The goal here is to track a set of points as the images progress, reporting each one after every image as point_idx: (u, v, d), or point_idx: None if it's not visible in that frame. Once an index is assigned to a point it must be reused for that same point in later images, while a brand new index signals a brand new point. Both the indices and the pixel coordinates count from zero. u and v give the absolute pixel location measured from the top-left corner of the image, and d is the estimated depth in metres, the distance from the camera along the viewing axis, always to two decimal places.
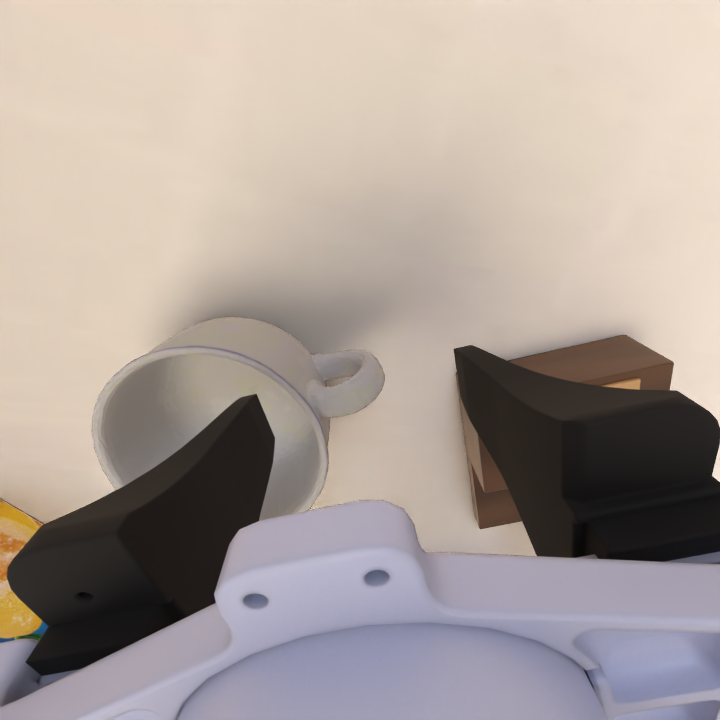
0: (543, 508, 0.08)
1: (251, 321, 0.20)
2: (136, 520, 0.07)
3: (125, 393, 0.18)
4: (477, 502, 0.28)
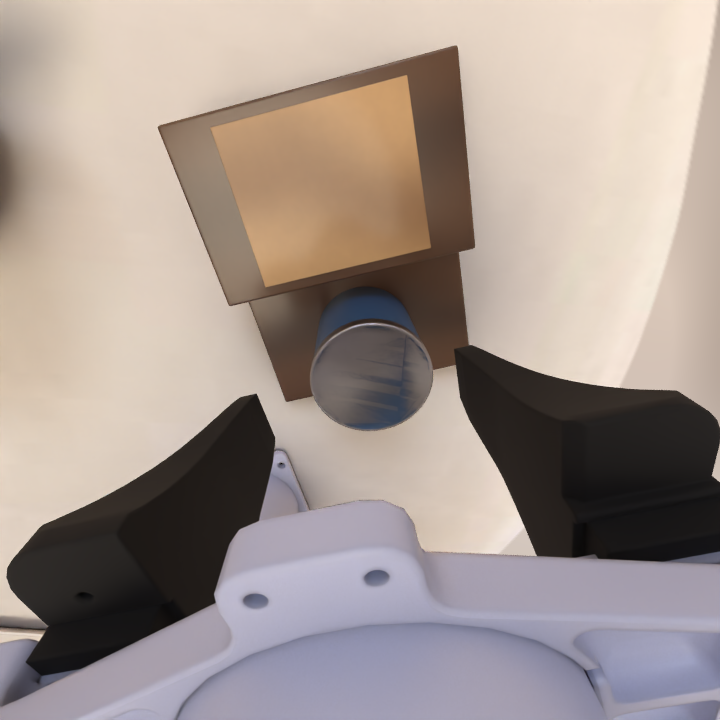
0: (543, 508, 0.08)
1: None
2: (136, 520, 0.07)
3: None
4: (270, 356, 0.21)
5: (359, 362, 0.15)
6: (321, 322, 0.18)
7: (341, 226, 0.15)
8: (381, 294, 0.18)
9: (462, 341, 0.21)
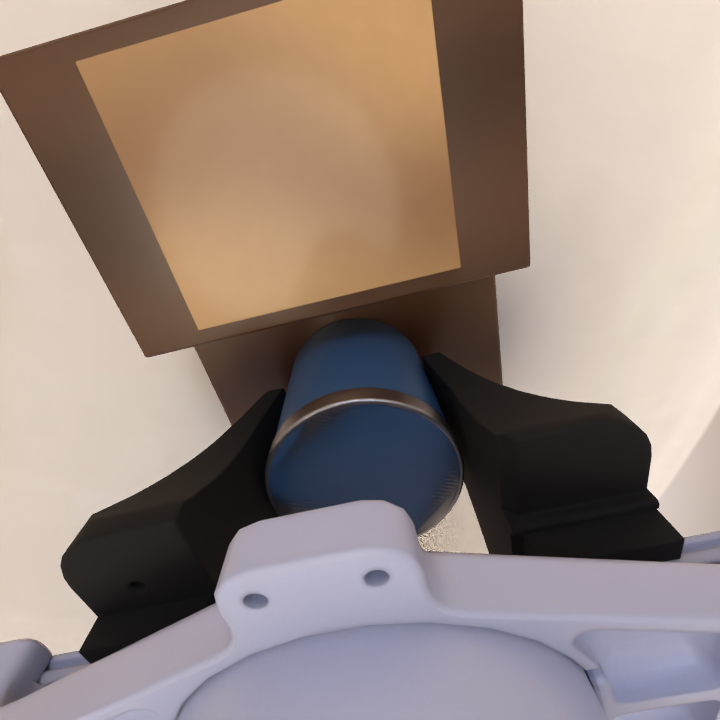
0: (492, 518, 0.08)
1: None
2: (190, 509, 0.07)
3: None
4: (227, 413, 0.15)
5: (344, 458, 0.09)
6: (292, 374, 0.12)
7: (315, 234, 0.09)
8: (380, 332, 0.12)
9: None
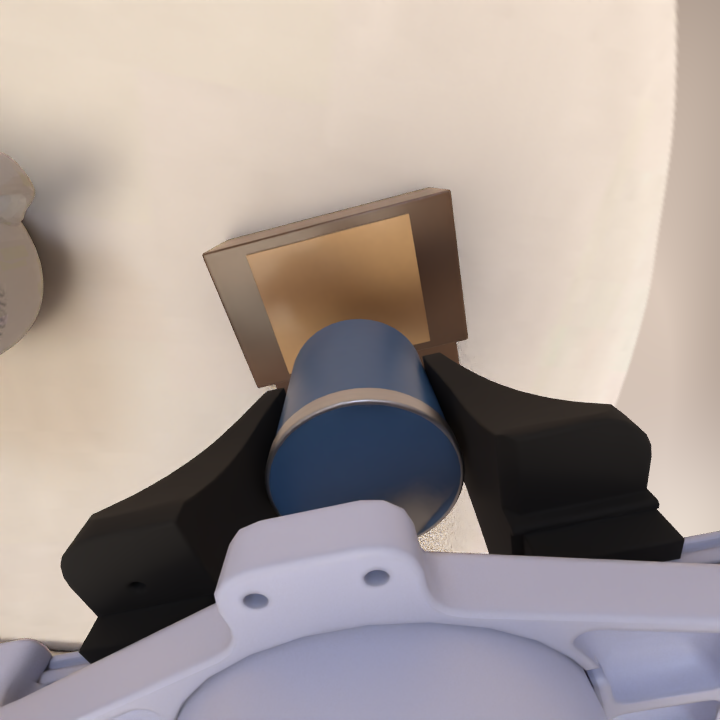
0: (492, 518, 0.08)
1: None
2: (191, 509, 0.07)
3: None
4: None
5: (344, 458, 0.09)
6: (292, 374, 0.12)
7: None
8: (380, 332, 0.12)
9: None
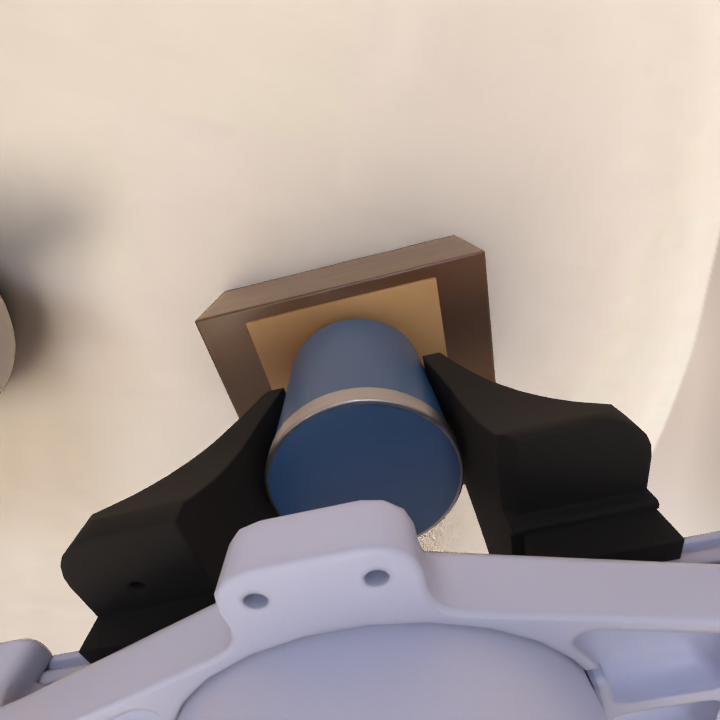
0: (492, 518, 0.08)
1: None
2: (190, 509, 0.07)
3: None
4: None
5: (344, 458, 0.09)
6: (292, 373, 0.12)
7: None
8: (380, 332, 0.12)
9: None
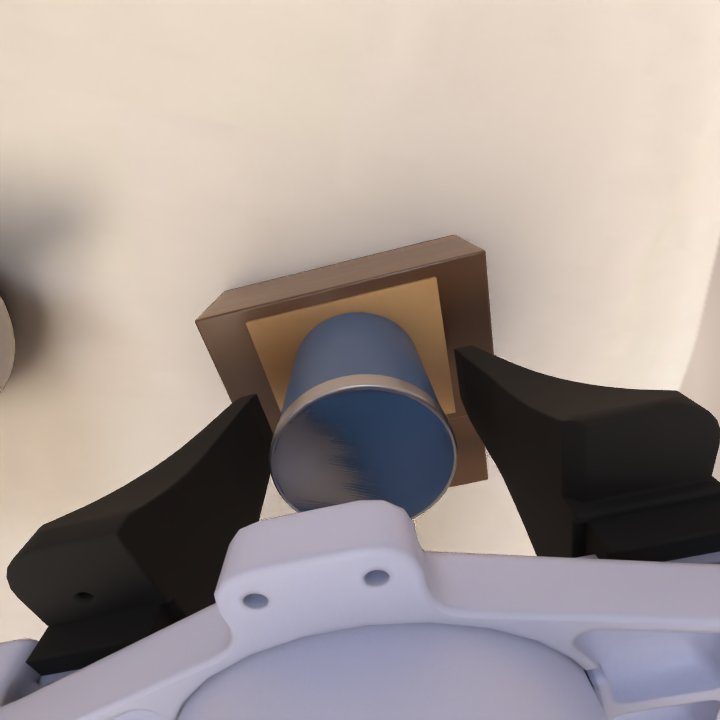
0: (543, 508, 0.08)
1: None
2: (136, 520, 0.07)
3: None
4: None
5: (344, 441, 0.10)
6: (294, 364, 0.13)
7: None
8: (379, 325, 0.13)
9: (480, 463, 0.21)
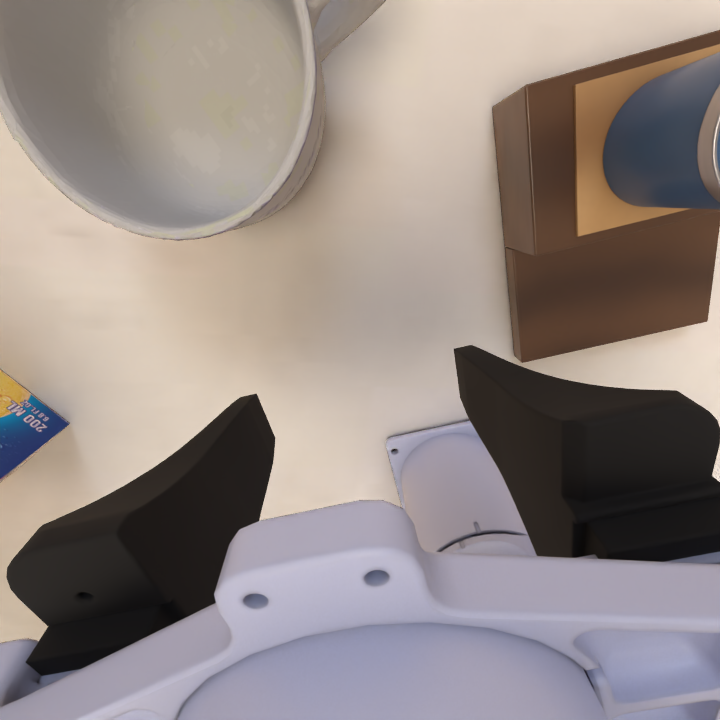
0: (543, 508, 0.08)
1: None
2: (136, 520, 0.07)
3: None
4: (519, 316, 0.22)
5: None
6: (644, 103, 0.14)
7: None
8: None
9: (704, 300, 0.22)
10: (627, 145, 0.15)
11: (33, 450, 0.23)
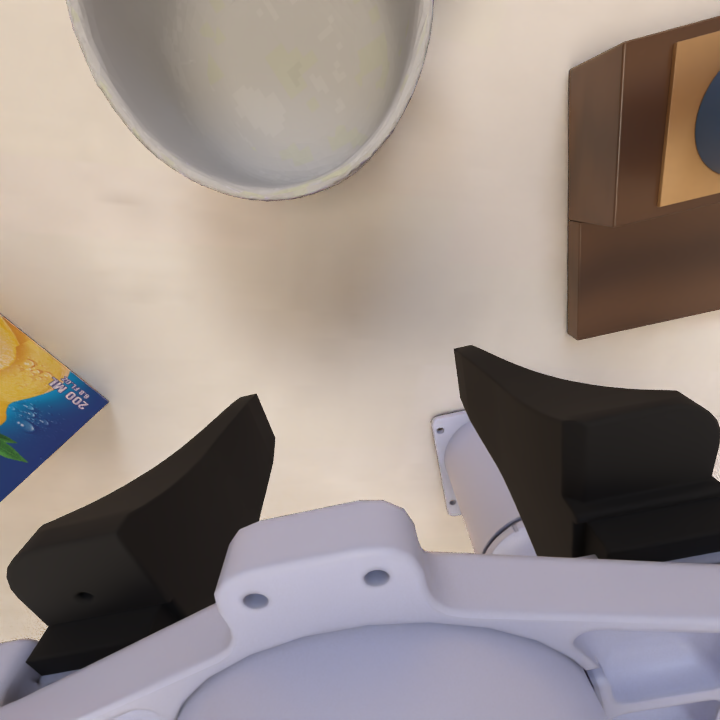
0: (543, 508, 0.08)
1: None
2: (136, 520, 0.07)
3: None
4: (579, 292, 0.22)
5: None
6: None
7: None
8: None
9: None
10: None
11: (78, 428, 0.22)
